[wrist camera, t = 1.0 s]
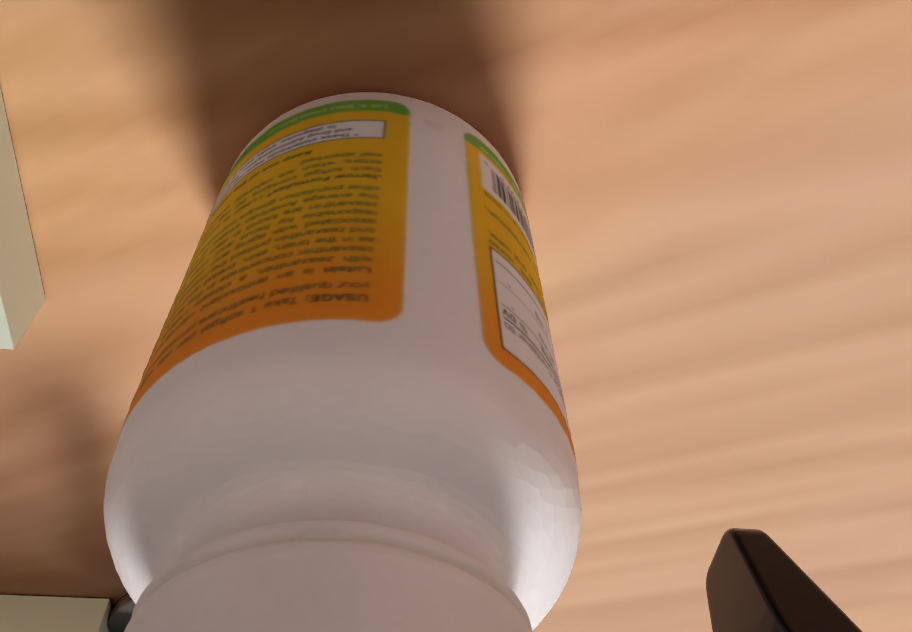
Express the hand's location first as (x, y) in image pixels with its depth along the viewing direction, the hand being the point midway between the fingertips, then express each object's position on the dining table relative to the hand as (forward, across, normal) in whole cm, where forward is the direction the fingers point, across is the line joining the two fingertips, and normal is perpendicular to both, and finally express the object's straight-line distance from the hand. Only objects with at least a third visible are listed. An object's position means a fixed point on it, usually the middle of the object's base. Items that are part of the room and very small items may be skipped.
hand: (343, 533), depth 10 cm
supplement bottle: (+7, 0, 0) cm, 7 cm away
